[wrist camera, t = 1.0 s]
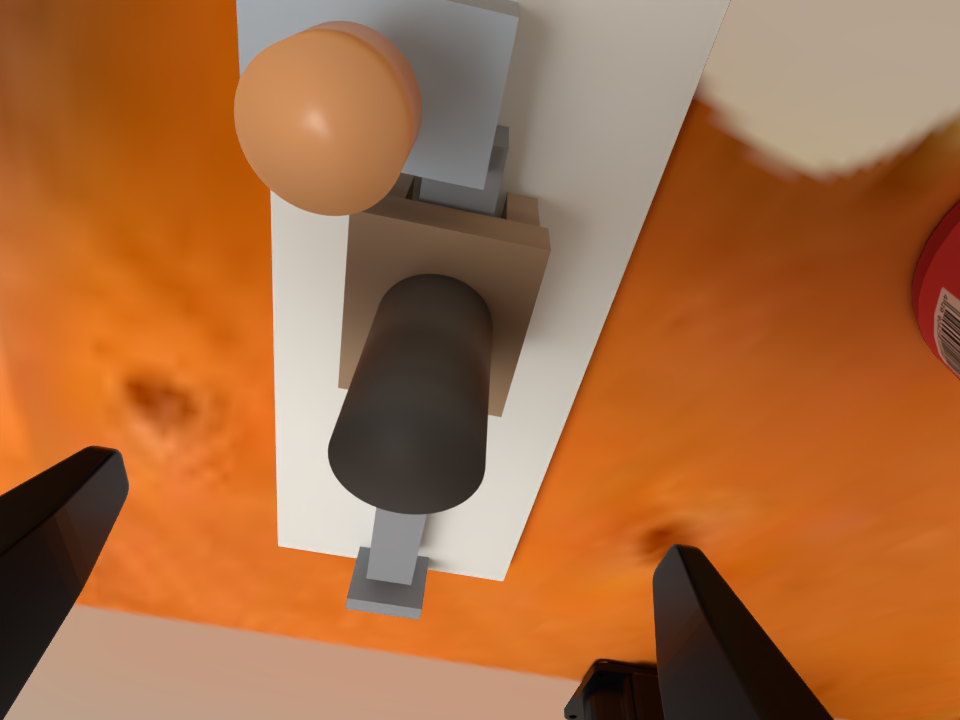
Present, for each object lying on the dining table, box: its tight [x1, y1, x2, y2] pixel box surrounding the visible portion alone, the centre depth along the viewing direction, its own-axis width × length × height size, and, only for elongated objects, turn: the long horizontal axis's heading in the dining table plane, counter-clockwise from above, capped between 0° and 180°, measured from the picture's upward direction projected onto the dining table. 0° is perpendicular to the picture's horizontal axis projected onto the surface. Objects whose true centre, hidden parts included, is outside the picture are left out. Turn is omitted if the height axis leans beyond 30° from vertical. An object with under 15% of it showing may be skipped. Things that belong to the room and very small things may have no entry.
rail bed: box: [236, 0, 731, 620], centre depth 18 cm, size 23×10×4 cm, turn 169°
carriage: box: [328, 173, 551, 515], centre depth 13 cm, size 5×4×8 cm
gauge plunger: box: [234, 21, 422, 216], centre depth 9 cm, size 2×2×2 cm
